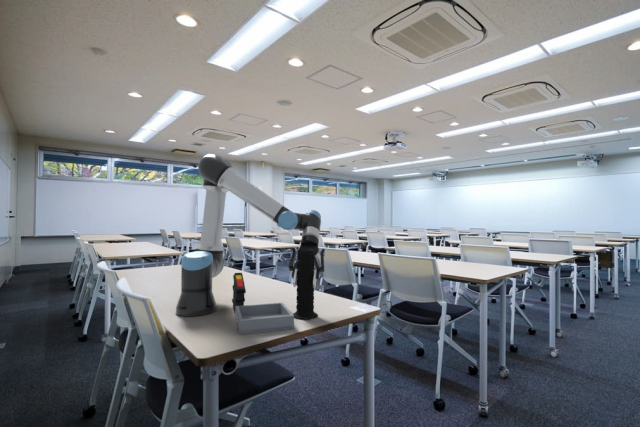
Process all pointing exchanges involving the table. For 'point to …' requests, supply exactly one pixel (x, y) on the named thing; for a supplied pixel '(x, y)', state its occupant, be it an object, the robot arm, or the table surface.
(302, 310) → the handle grip
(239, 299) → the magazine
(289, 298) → the table surface
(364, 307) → the table surface
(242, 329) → the tray
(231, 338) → the table surface
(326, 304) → the table surface
